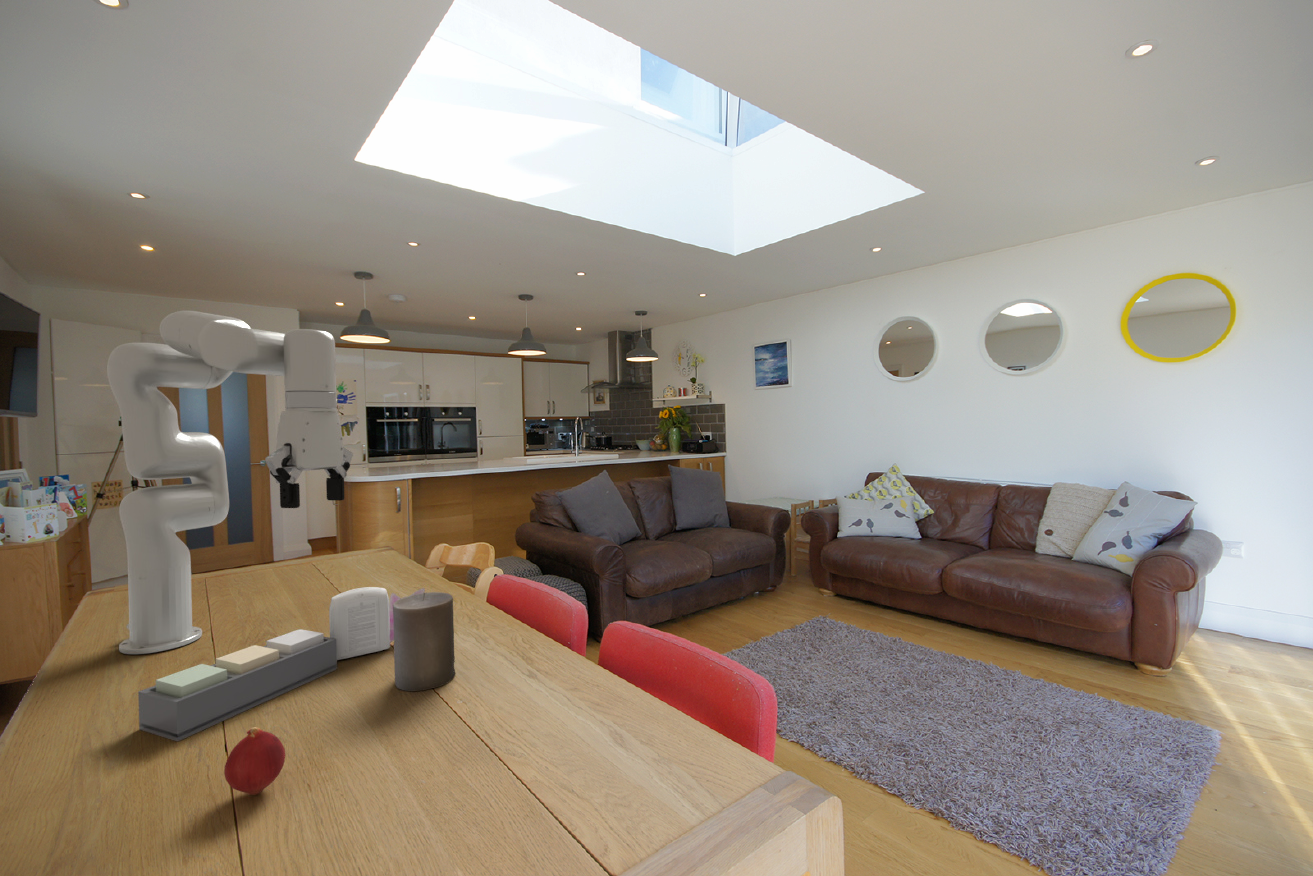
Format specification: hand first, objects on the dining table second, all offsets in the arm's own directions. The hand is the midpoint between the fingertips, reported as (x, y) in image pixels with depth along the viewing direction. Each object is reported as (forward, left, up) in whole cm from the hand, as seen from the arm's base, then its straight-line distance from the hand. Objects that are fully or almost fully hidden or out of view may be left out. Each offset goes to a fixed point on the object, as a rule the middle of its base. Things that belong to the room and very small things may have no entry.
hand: (314, 503), depth 97 cm
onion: (+21, -24, -31) cm, 44 cm away
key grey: (-5, 0, -27) cm, 28 cm away
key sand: (-5, -8, -28) cm, 29 cm away
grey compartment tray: (-5, -8, -30) cm, 32 cm away
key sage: (-5, -16, -27) cm, 32 cm away
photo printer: (-2, +11, -30) cm, 32 cm away
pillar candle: (+17, +7, -31) cm, 36 cm away
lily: (0, +18, -31) cm, 36 cm away
